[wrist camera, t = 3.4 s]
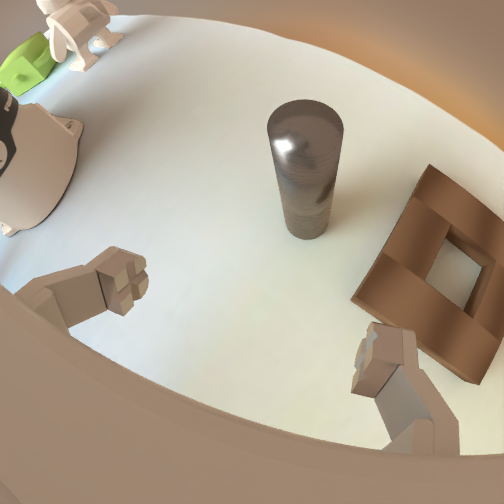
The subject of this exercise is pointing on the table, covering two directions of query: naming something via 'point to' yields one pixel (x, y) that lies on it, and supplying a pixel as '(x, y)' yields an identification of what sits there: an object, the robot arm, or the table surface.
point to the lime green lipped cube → (27, 65)
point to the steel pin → (306, 163)
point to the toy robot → (79, 28)
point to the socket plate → (426, 297)
